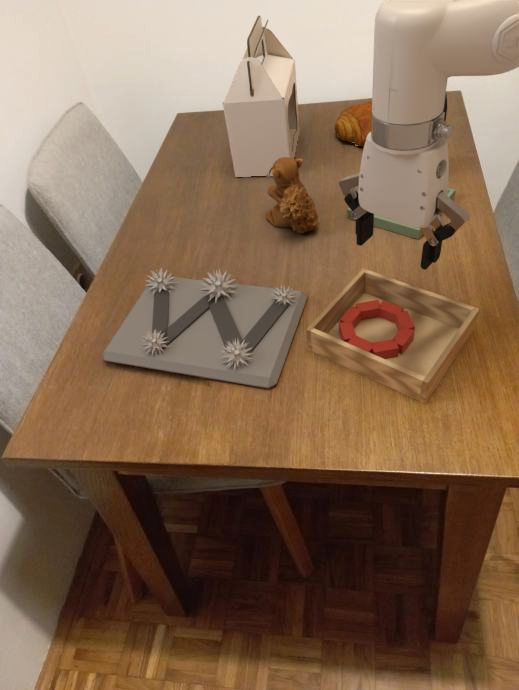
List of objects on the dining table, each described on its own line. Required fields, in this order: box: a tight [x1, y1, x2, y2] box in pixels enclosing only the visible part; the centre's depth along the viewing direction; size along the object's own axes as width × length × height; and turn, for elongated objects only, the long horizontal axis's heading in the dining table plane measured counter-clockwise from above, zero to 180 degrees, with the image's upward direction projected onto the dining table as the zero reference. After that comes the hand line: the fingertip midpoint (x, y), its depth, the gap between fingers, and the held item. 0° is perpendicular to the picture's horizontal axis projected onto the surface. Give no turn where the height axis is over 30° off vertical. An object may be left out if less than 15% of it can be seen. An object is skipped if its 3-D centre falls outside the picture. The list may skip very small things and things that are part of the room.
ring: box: [339, 300, 415, 359], centre depth 82 cm, size 11×11×2 cm
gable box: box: [222, 15, 301, 178], centre depth 119 cm, size 22×13×28 cm, turn 172°
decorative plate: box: [101, 267, 308, 389], centre depth 87 cm, size 30×22×7 cm
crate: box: [305, 267, 480, 404], centre depth 80 cm, size 20×17×5 cm
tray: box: [346, 187, 457, 240], centre depth 106 cm, size 16×16×2 cm
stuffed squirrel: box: [264, 157, 320, 234], centre depth 103 cm, size 10×14×13 cm
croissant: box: [334, 100, 372, 147], centre depth 127 cm, size 14×16×8 cm
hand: (395, 251), depth 70 cm, fingers open, 9 cm apart
